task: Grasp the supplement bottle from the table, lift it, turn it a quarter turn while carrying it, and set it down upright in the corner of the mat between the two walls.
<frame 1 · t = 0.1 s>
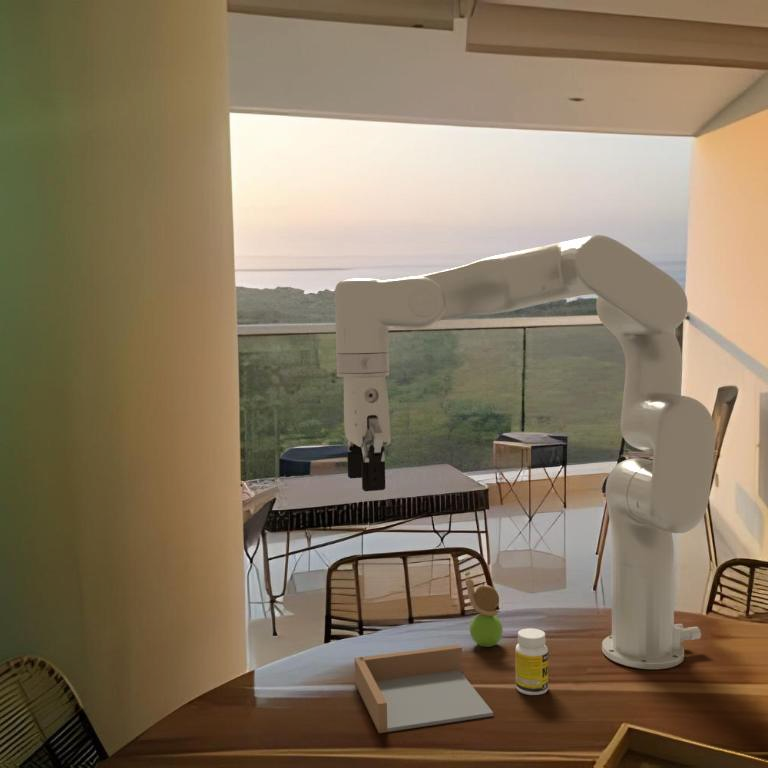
hand: (366, 483, 115), 31 cm above the table, tool pointing down, fingers open, 9 cm apart
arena: (422, 700, 114), on the table
supplement bottle: (532, 689, 117), on the table
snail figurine: (483, 646, 133), on the table
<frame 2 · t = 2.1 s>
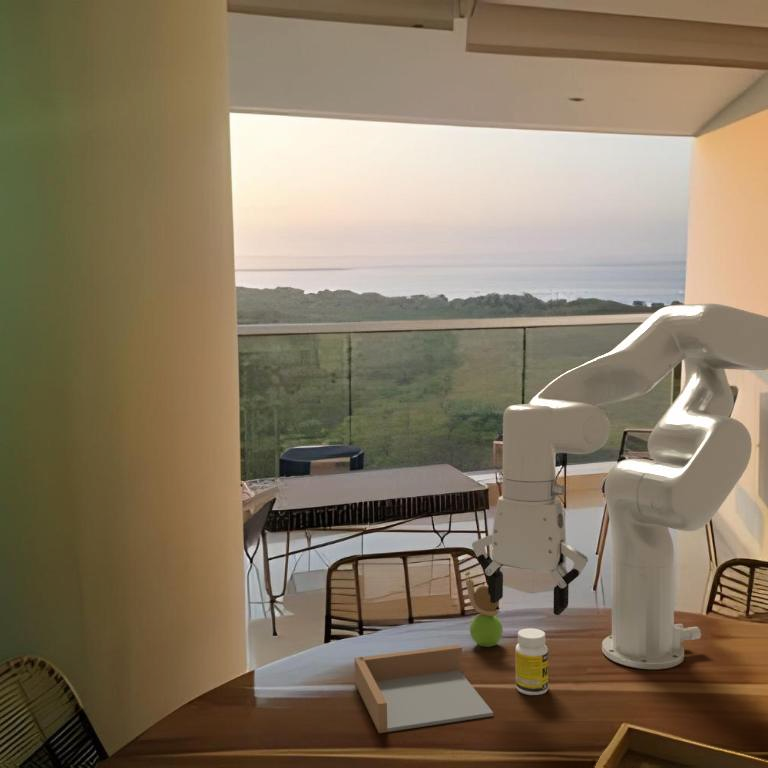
hand: (527, 606, 115), 13 cm above the table, tool pointing down, fingers open, 9 cm apart
nothing on the table moved.
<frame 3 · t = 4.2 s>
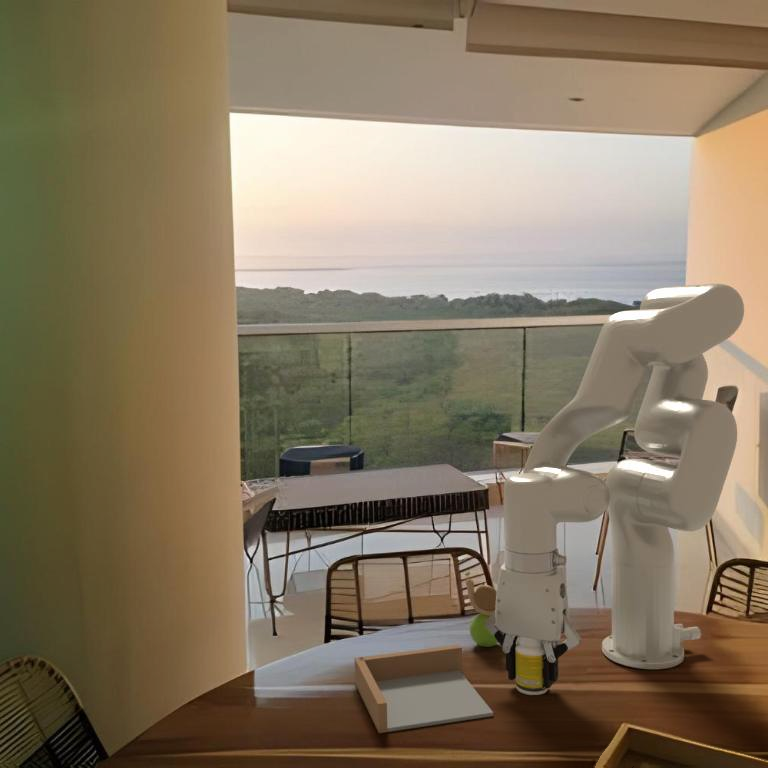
hand: (531, 679, 116), 1 cm above the table, tool pointing down, fingers closed on supplement bottle, 4 cm apart
supplement bottle: (531, 689, 117), on the table, touching gripper
everything else where it was.
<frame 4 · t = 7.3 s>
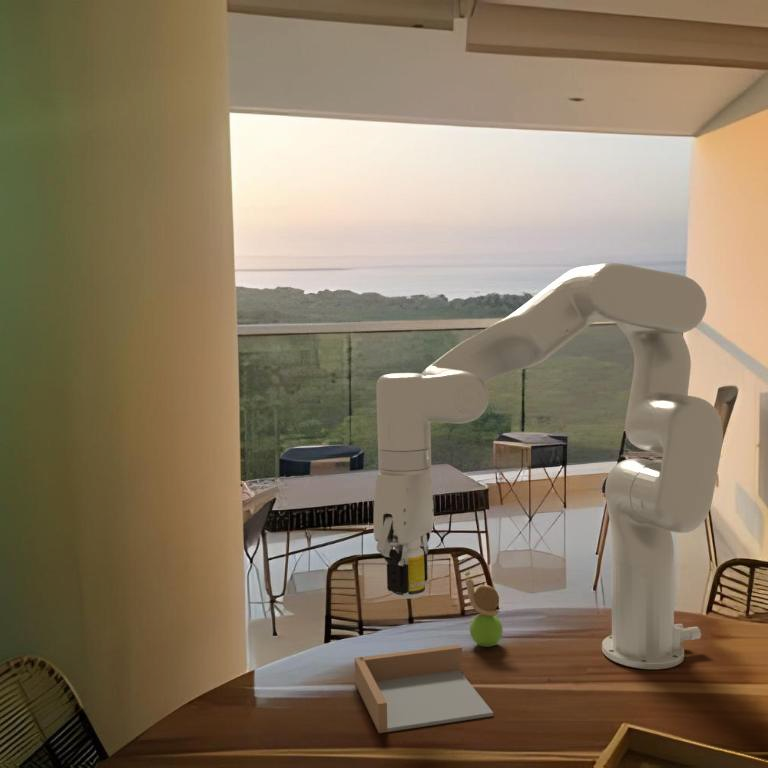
hand: (407, 584, 113), 17 cm above the table, tool pointing down, fingers closed on supplement bottle, 4 cm apart
supplement bottle: (408, 595, 114), point 15 cm above the table, touching gripper
everything else where it was.
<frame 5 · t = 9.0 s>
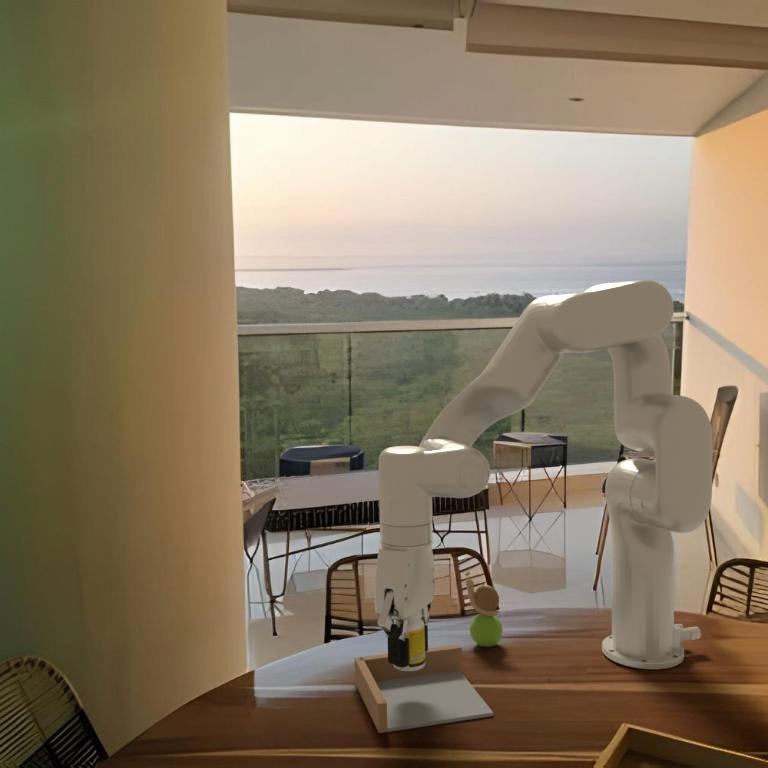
hand: (408, 655, 114), 6 cm above the table, tool pointing down, fingers closed on supplement bottle, 4 cm apart
supplement bottle: (408, 666, 114), point 5 cm above the table, touching gripper
everything else where it was.
when the fingers open (3 cm above the table, at t = 10.5 s): supplement bottle stays where it is, resting on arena.
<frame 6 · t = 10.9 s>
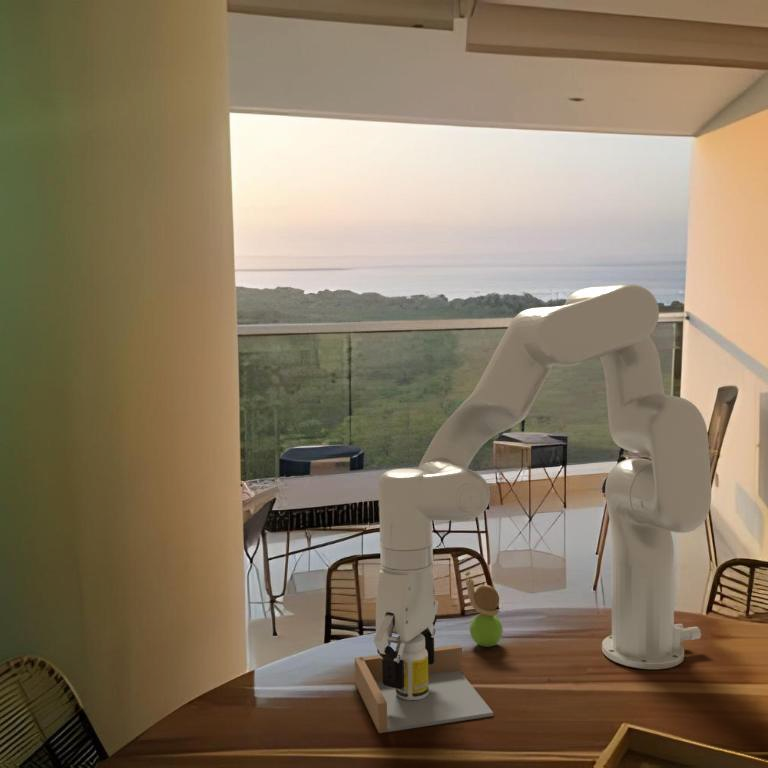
hand: (409, 673, 114), 4 cm above the table, tool pointing down, fingers open, 8 cm apart
supplement bottle: (412, 694, 115), resting on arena
everything else where it was.
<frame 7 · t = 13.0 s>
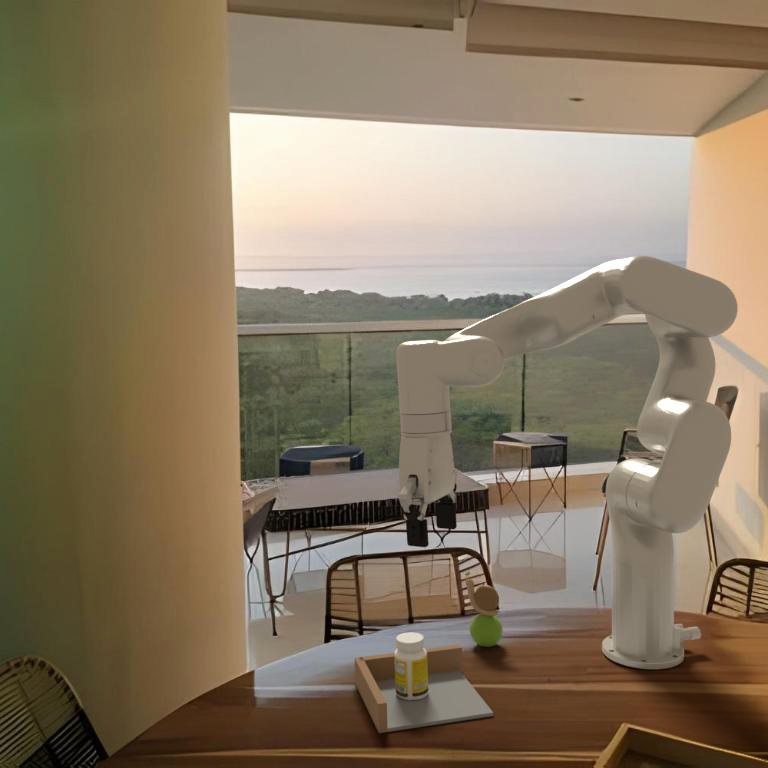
hand: (432, 536, 118), 22 cm above the table, tool pointing down, fingers open, 9 cm apart
nothing on the table moved.
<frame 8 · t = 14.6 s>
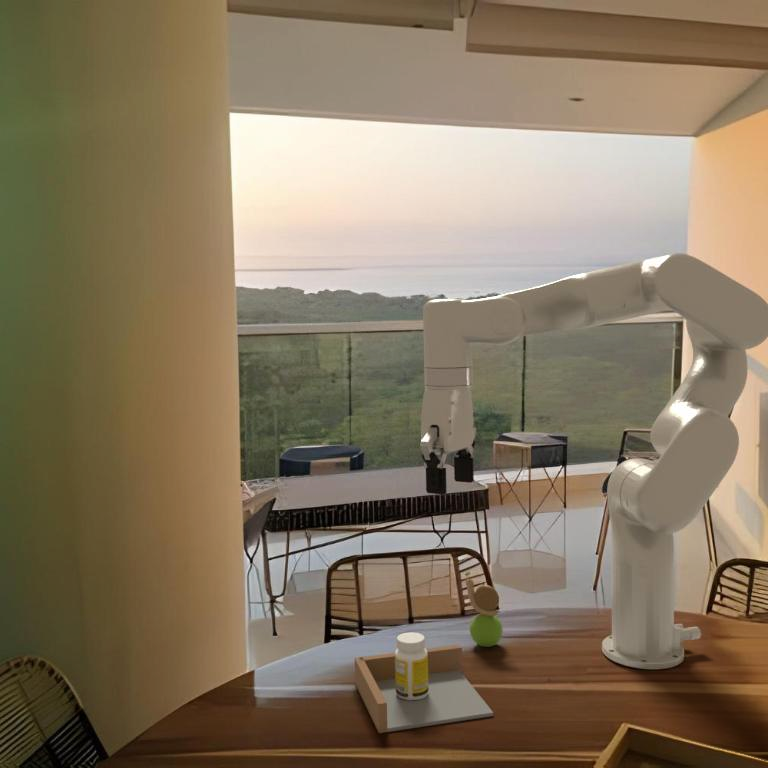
hand: (450, 487, 124), 28 cm above the table, tool pointing down, fingers open, 9 cm apart
nothing on the table moved.
at the end: supplement bottle inside the target area (0.5 cm from its centre), resting on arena; supplement bottle tilted 0°; the gripper is holding nothing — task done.
